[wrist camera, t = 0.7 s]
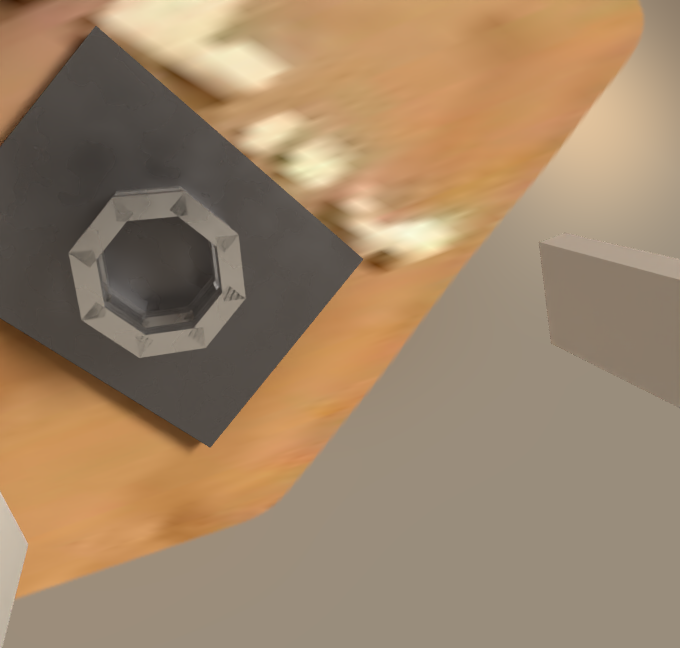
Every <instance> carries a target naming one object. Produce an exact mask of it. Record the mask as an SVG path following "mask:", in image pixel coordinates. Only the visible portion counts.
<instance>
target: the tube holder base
mask: <svg viewBox="0 0 680 648" xmlns="http://www.w3.org/2000/svg"><path fill="white" fill-rule="evenodd" d="M362 260H363V258H361V257H360V256H359V255H358V254H357V253H356V252H354V251H353V250H352V249H351V248H350V247H349V246H348V245H346V244H345V243H344V242H343V241H342V240H341V239H340V238H338V237H337V236H336V235H335V234H334V233H333V232H332V231H330V230H329V229H328V228H327V227H326V226H325V225H324V224H322V223H321V222H320V221H319V220H318V219H317V218H316V217H314V216H313V215H312V214H311V213H310V212H309V211H308V210H306V209H305V208H304V207H303V206H302V205H301V204H300V203H298V202H297V201H296V200H295V199H294V198H293V197H291V196H290V195H289V194H288V193H287V192H286V191H285V190H283V189H282V188H281V187H280V186H279V185H278V184H277V183H275V182H274V181H273V180H272V179H271V178H270V177H269V176H267V175H266V174H265V173H264V172H263V171H262V170H261V169H259V168H258V167H257V166H256V165H255V164H254V163H253V162H251V161H250V160H249V159H248V158H247V157H246V156H245V155H243V154H242V153H241V152H240V151H239V150H238V149H236V148H235V147H234V146H233V145H232V144H231V143H230V142H228V141H227V140H226V139H225V138H224V137H223V136H222V135H220V134H219V133H218V132H217V131H216V130H215V129H214V128H212V127H211V126H210V125H209V124H208V123H207V122H206V121H204V120H203V119H202V118H201V117H200V116H199V115H198V114H196V113H195V112H194V111H193V110H192V109H191V108H190V107H188V106H187V105H186V104H185V103H184V102H183V101H181V100H180V99H179V98H178V97H177V96H176V95H175V94H173V93H172V92H171V91H170V90H169V89H168V88H167V87H165V86H164V85H163V84H162V83H161V82H160V81H159V80H157V79H156V78H155V77H154V76H153V75H152V74H151V73H149V72H148V71H147V70H146V69H145V68H144V67H143V66H141V65H140V64H139V63H138V62H137V61H136V60H135V59H133V58H132V57H131V56H130V55H129V54H128V53H127V52H125V51H124V50H123V49H122V48H121V47H120V46H118V45H117V44H116V43H115V42H114V41H113V40H112V39H110V38H109V37H108V36H107V35H106V34H105V33H104V32H102V31H101V30H100V29H99V28H98V27H97V26H95V28H94V29H93V30H92V31H91V33H90V34H89V35H88V36H87V38H86V39H85V40H84V42H83V43H82V44H81V45H80V47H79V48H78V49H77V50H76V52H75V53H74V54H73V55H72V57H71V58H70V59H69V60H68V62H67V63H66V64H65V66H64V67H63V68H62V69H61V71H60V72H59V73H58V74H57V76H56V77H55V78H54V79H53V81H52V82H51V83H50V85H49V86H48V87H47V88H46V90H45V91H44V92H43V93H42V95H41V96H40V97H39V98H38V100H37V101H36V102H35V104H34V105H33V106H32V107H31V109H30V110H29V111H28V112H27V114H26V115H25V116H24V117H23V119H22V120H21V121H20V122H19V124H18V125H17V126H16V128H15V129H14V130H13V131H12V133H11V134H10V135H9V136H8V138H7V139H6V140H5V141H4V143H3V144H2V145H1V147H0V318H1V319H2V320H4V321H6V322H7V323H9V324H11V325H12V326H14V327H15V328H17V329H19V330H20V331H22V332H24V333H25V334H27V335H28V336H30V337H32V338H33V339H35V340H36V341H38V342H40V343H41V344H43V345H45V346H46V347H48V348H49V349H51V350H53V351H54V352H56V353H58V354H59V355H61V356H62V357H64V358H66V359H67V360H69V361H71V362H72V363H74V364H75V365H77V366H79V367H80V368H82V369H84V370H85V371H87V372H88V373H90V374H92V375H93V376H95V377H96V378H98V379H100V380H101V381H103V382H105V383H106V384H108V385H109V386H111V387H113V388H114V389H116V390H118V391H119V392H121V393H122V394H124V395H126V396H127V397H129V398H131V399H132V400H134V401H135V402H137V403H139V404H140V405H142V406H144V407H145V408H147V409H148V410H150V411H152V412H153V413H155V414H156V415H158V416H160V417H161V418H163V419H165V420H166V421H168V422H169V423H171V424H173V425H174V426H176V427H178V428H179V429H181V430H182V431H184V432H186V433H187V434H189V435H191V436H192V437H194V438H195V439H197V440H199V441H200V442H202V443H204V444H205V445H207V446H208V447H211V446H212V445H213V444H214V442H215V441H216V440H217V439H218V437H219V436H220V435H221V434H222V433H223V431H224V430H225V429H226V428H227V426H228V425H229V424H230V423H231V421H232V420H233V419H234V418H235V417H236V415H237V414H238V413H239V412H240V410H241V409H242V408H243V407H244V405H245V404H246V403H247V402H248V401H249V399H250V398H251V397H252V396H253V394H254V393H255V392H256V391H257V389H258V388H259V387H260V386H261V385H262V383H263V382H264V381H265V380H266V378H267V377H268V376H269V375H270V373H271V372H272V371H273V370H274V369H275V367H276V366H277V365H278V364H279V362H280V361H281V360H282V359H283V357H284V356H285V355H286V354H287V353H288V351H289V350H290V349H291V348H292V346H293V345H294V344H295V343H296V341H297V340H298V339H299V338H300V337H301V335H302V334H303V333H304V332H305V330H306V329H307V328H308V327H309V325H310V324H311V323H312V322H313V321H314V319H315V318H316V317H317V316H318V314H319V313H320V312H321V311H322V309H323V308H324V307H325V306H326V305H327V303H328V302H329V301H330V300H331V298H332V297H333V296H334V295H335V293H336V292H337V291H338V290H339V288H340V287H341V286H342V285H343V284H344V282H345V281H346V280H347V279H348V277H349V276H350V275H351V274H352V272H353V271H354V270H355V269H356V268H357V266H358V265H359V264H360V263H361V261H362Z"/></svg>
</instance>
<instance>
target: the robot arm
mask: <svg viewBox="0 0 680 648" xmlns="http://www.w3.org/2000/svg"><path fill="white" fill-rule="evenodd" d="M539 248H540V255H541V264H542V273H543V281H544V289H545V297H546V306H547V314H548V322H549V331H550V339H551V344H553V345H555V346H557V347H559V348H561V349H564V350H565V351H567V352H570V353H571V354H573V355H575V356H577V357H579V358H581V359H583V360H585V361H587V362H589V363H591V364H594V365H595V366H597V367H599V368H601V369H603V370H605V371H607V372H609V373H611V374H613V375H615V376H617V377H619V378H621V379H623V380H625V381H627V382H629V383H631V384H633V385H635V386H637V387H639V388H641V389H643V390H645V391H647V392H649V393H651V394H653V395H655V396H657V397H659V398H661V399H663V400H665V401H667V402H669V403H671V404H673V405H675V406H677V407H679V408H680V259H677V258H672V257H668V256H664V255H659V254H655V253H651V252H646V251H642V250H638V249H633V248H629V247H625V246H620V245H616V244H612V243H607V242H603V241H599V240H594V239H590V238H585V237H581V236H577V235H573V234H568V233H563V234H561V235H558V236H555V237H552V238H549V239H546V240H543V241H540V242H539ZM27 547H28V543H27V541H26V539H25V537H24V535H23V533H22V532H21V530H20V528H19V526H18V524H17V522H16V520H15V518H14V517H13V515H12V513H11V511H10V509H9V507H8V505H7V503H6V502H5V500H4V498H3V496H2V494H1V492H0V648H2V646H3V642H4V638H5V634H6V630H7V627H8V622H9V619H10V615H11V611H12V607H13V603H14V599H15V595H16V591H17V587H18V583H19V579H20V575H21V571H22V567H23V563H24V559H25V555H26V551H27Z"/></svg>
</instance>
